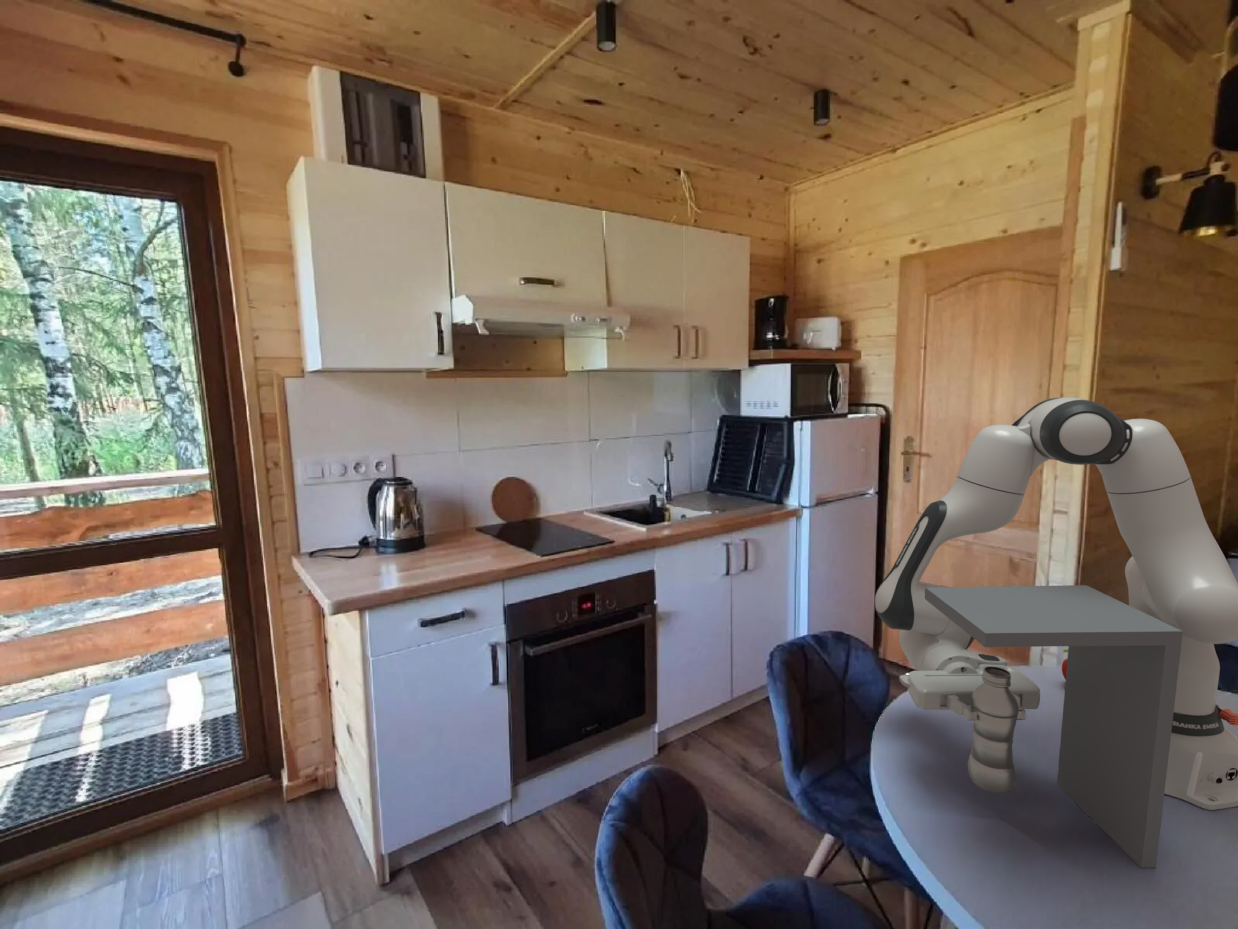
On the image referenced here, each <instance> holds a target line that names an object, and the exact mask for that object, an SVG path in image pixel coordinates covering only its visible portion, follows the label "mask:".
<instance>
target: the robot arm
mask: <svg viewBox="0 0 1238 929" xmlns="http://www.w3.org/2000/svg"><path fill="white" fill-rule="evenodd" d="M1048 460H1052V461H1053V460H1054V461H1059V462H1062V463H1063V464H1064V463H1065V464H1069V465H1079V466H1081V465H1083V466H1084V465H1088V466H1089V465H1095V466H1096V467H1097V470H1098V471H1099V473H1100V474H1101V478H1102V482H1103V485H1104V488H1105V492H1106V495H1107V497H1108V500H1109V504H1110V506H1111V510H1112V512H1113V515H1114V519H1115V522H1116V524H1117V528H1118V531H1119V534H1120V536H1121V537H1122V539H1123V540H1124V542H1125V543H1126V546H1127V548H1128V550H1129V552H1130V554H1131V557H1130V558H1129V559H1128V561H1127V562H1126V565H1125V567H1124V576H1125V579H1126V583H1127V588H1128V589H1127V590H1128V605H1129V606H1131V607H1133V608H1135V609H1137V610H1139V611H1141V612H1143V613H1146V614H1148V615H1150V616H1152V617H1154V618H1156V619H1158V620H1160V621H1162V622H1164V623H1166V624H1169V625H1171V626H1173V627H1175V628H1177V629H1179V630H1181V631H1183V634H1182V643H1181V651H1180V660H1179V669H1178V678H1177V687H1176V695H1175V704H1174V713H1173V722H1172V730H1171V739H1170V748H1169V757H1168V766H1167V774H1166V783H1165V792H1164V795H1168V796H1172V797H1175V798H1178V799H1182V800H1184V801H1186V802H1188V803H1191V804H1193V805H1195V806H1197V807H1199V808H1202V809H1204V810H1208V811H1209V810H1210V811H1215V810H1216V811H1217V810H1222V809H1228V808H1235V807H1238V736H1236V735H1235V734H1234V733H1233V732H1232V731H1230V730H1229V729H1228V728H1227V727H1225V726H1224V722H1223V721H1226V723H1228V724H1230V725H1231V726H1238V713H1236V712H1234V711H1232V710H1231V709H1229V708H1224V709H1222V708H1221V707H1220V705H1217V703H1216V702H1217V697H1218V696H1217V694H1218V689H1219V688H1218V686H1219V679H1220V671H1221V670H1220V669H1221V666H1220V665H1221V664H1220V661H1219V658H1218V654H1217V653H1216V649H1215V645H1223V644H1228V643H1231V642H1235V641H1237V640H1238V581H1237V578H1236V577H1235V575H1234V573H1233V571H1232V569H1231V566H1230V565H1229V563H1228V561H1227V559H1226V557H1225V555H1224V553H1223V551H1222V549H1221V548H1220V546H1219V544H1218V542H1217V541H1216V540H1217V539H1215V537H1214V535H1213V533H1212V531H1211V529H1210V528H1209V525H1208V523H1207V521H1206V518H1205V516H1204V512H1203V509H1202V506H1201V504H1200V501H1199V497H1198V495H1197V491H1196V489H1195V485H1194V482H1193V480H1192V476H1191V473H1190V470H1189V468H1188V465H1187V463H1186V461H1185V459H1184V456H1183V454H1182V452H1181V450H1180V448H1179V446H1178V445H1177V443H1176V441H1175V439H1174V438H1173V436H1172V435H1171V433H1170V432H1169V429H1168V428H1167V427H1166V426H1165V425H1164V424H1162V423H1161V422H1159V421H1157V420H1154V419H1147V418H1131V419H1126V420H1123V418H1121V417H1120V416H1118V415H1117V414H1116V413H1114V412H1113V411H1112V410H1110V409H1109V407H1106V406H1105V405H1103V404H1101V403H1099V402H1096V401H1093V400H1089V399H1086V398H1085V399H1084V398H1079V397H1075V396H1074V397H1073V396H1067V397H1065V396H1064V397H1052V398H1048V399H1045V400H1042V401H1039V402H1038V403H1037V404H1035V405H1033V406H1032V407H1031V408H1029V409H1028V410H1027V411H1026V412H1025V413H1024V414H1023V415H1021V416H1020V417H1019V418H1018V419H1017V420H1015V421H1014V422H1013V423H1012V424H991V425H987V426H985V427H984V428H981V430H979V431H978V433H977V435H976V436H975V437H974V439H973V440H972V441H971V444H970V446H969V447H968V449H967V451H966V454H965V455H964V458H963V460H962V462H961V465H960V467H959V470H958V472H957V475H956V478H955V481H954V482H953V485H952V486H951V487H950V489H949V490H948V491H947V493H945V495H944V496H942V497H941V498H940V499H939V500H936V501H933V502H931V503H929V504H928V505H927V506H926V508H925V509H924V510H923V512H922V514H921V515H920V517H919V519H918V521H917V522H916V524H915V526H914V527H913V529H912V531H911V532H910V535H909V536H908V538H907V540H906V542H905V543H904V545H903V547H902V550H901V551H900V553H899V555H898V557H896V558H897V559H896V560H895V562H894V564H893V565H892V567H891V570H890V571H889V572H888V574H887V575H886V576H885V578H884V579H883V580H882V581H881V583H880V584H879V586H878V588H877V590H876V592H875V595H874V600H873V603H874V604H873V605H874V606H873V607H874V610H875V612H876V613H877V615H878V617H879V618H880V620H881V621H882V622H883V623H884V624H885V625H886V626H887V627H888V628H889V629H891V630H899V633H898V640H899V644H900V647H901V650H902V652H903V653H904V655H905V657H906V658H907V660H908V662H910V664H911V665H912V666H913V667H914V668H915V669H916V670H912V671H910V672H909V671H908V672H905V673H904V674H901V675H899V678H898V679H899V682H900V683H901V685H902V686H904V687H905V688H907V691H908V694H909V696H910V698H911V700H912V702H913V703H914V704H915V706H916V707H917V708H920V709H922V710H926V711H927V710H928V711H929V710H932V711H933V710H934V711H939V710H941V711H942V710H943V711H945V710H948V711H950V712H953V713H955V714H958V715H960V716H962V717H963V718H964V719H965V721H973V720H977V719H978V718H977V716H978V712H977V710H976V709H974V707H973V706H972V705H971V696H972V694H973V691H974V690H975V689H976V688H977V687H978V686H979V685H981V684H982V683H984V682H983V681H982V676H983V670H984V668H985V667H988V666H994V667H1000V668H1003V669H1005V670H1007V671H1009V672H1010V673H1011V680H1010V681H1011V686H1010V687H1009V689H1010V690H1011V692H1012V693H1013V694H1014V696H1015V698H1016V699H1017V702H1018V705H1019V712H1018V716H1017V720H1016V721H1026V719H1027V718H1026V716H1027V712H1026V710H1037V709H1038V708H1039V706H1040V702H1041V689H1040V687H1039V686H1038V685H1037V684H1036V683H1035V682H1034V681H1033V680H1031V679H1030V678H1029V677H1028V676H1026V675H1025V674H1024V673H1022V672H1021V671H1019V670H1018V669H1016V668H1014V667H1012V666H1009V665H1008V662H1007V660H1006V659H1005V658H1003V657H1001V656H997V655H990V654H984V653H978V652H975V651H971V650H968V649H969V648H970V646H971V645H972V644H973V642H974V641H975V639H974V638H973V637H972V636H970V635H969V634H968V633H967V632H965V631H964V630H963V629H962V628H960V627H959V626H958V625H957V624H955V623H954V622H953V621H952V620H950V619H949V618H948V617H947V616H945V615H944V614H943V613H942V612H940V611H939V610H938V609H937V608H935V607H934V606H933V605H932V604H930V603H929V602H928V601H927V600H925V587H948V586H946V585H941V584H934V583H930V582H926V581H921V579H922V577H923V575H924V573H925V571H927V568H928V566H929V564H930V563H931V561H932V559H933V557H934V555H935V553H936V552H937V550H938V549H939V547H941V546H942V545H943V544H945V543H946V542H948V541H951V540H953V539H955V538H960V537H965V536H970V535H978V534H979V535H980V534H985V533H990V532H993V531H994V532H995V531H997V530H999V529H1001V528H1004V527H1006V526H1007V525H1008V524H1010V523H1011V522H1012V521H1013V520H1014V519H1015V517H1016V515H1017V514H1018V512H1019V510H1020V507H1021V506H1022V502H1023V500H1024V497H1025V494H1026V493H1027V488H1028V485H1029V482H1030V478H1031V477H1032V476H1033V474H1034V472H1035V471H1036V470H1037V469H1038V467H1039V466H1041V465H1042V464H1043V463H1045V462H1047V461H1048Z"/></svg>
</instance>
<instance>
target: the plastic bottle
mask: <svg viewBox="0 0 1238 929" xmlns="http://www.w3.org/2000/svg"><path fill="white" fill-rule="evenodd" d="M1010 680H1011V673H1010V672H1009V671H1007V670H1005V669H1003V668H1000V667H994V666H988V667H985V668H984V670H983V676H982V681H983V682H984V683H982V684H981V685H979V686H978V687H977V688H976V689H975V690H974V691H973V694H972V696H971V705H972V706H973V707H974V709H976V710H977V712H978V716H977V718H978V719H977V720H972V722H973V723H972V724H973V725H972V727H973V730H972V732H973V737H972V744H971V750H970V751H971V752H970V753H969V755H968V756H969V757H968V761H967V771H968V775H969V778H970V780H971V781H972V782H973V784H974V785H976V786H977V787H979V788H980V789H982V790H983V791H986V792H990V793H993V794H1005V793H1008V792H1010V791H1011V790H1012V789H1014V785H1015V782H1016V778H1017V777H1016V770H1015V764H1014V752H1013V748H1014V747H1013V743H1014V735H1015V729H1016V728H1015V727H1016V723H1017V721H1018V720H1017V716H1018V712H1019V705H1018V702H1017V699H1016V698H1015V696H1014V694H1013V693H1012V692H1011V690H1010V689H1009V687H1010V686H1011V681H1010Z"/></svg>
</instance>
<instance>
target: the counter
mask: <svg viewBox="0 0 1238 929" xmlns="http://www.w3.org/2000/svg"><path fill="white" fill-rule="evenodd" d="M925 600H927V601H928V602H929V603H930V604H932V605H933V606H934V607H935V608H937V609H938V610H939V611H940V612H942V613H943V614H944V615H945V616H947V617H948V618H949V619H950V620H952V621H953V622H954V623H955V624H957V625H958V626H959V627H960V628H962V629H963V630H964V631H965V632H967V633H968V634H969V635H970V636H972V637H973V638H974V641H976V642H978V643H979V644H980V645H982V646H983V647H984V648H998V647H999V648H1001V647H1002V648H1005V647H1006V648H1007V647H1008V648H1011V647H1012V648H1013V647H1016V648H1017V647H1019V648H1021V647H1022V648H1023V647H1026V648H1027V647H1028V648H1031V647H1067V649H1068V652H1067V659H1068V660H1067V671H1066V680H1065V682H1064V683H1065V686H1064V696H1063V698H1064V699H1063V706H1062V707H1063V710H1062V718H1061V719H1062V720H1061V733H1060V741H1059V742H1060V745H1059V753H1058V754H1059V756H1058V765H1057V766H1058V767H1057V768H1058V769H1057V779H1056V780H1057V781H1056V785H1058V787H1059V788H1060V789H1061V790H1062V791H1063V792H1064V793H1065V794H1066V795H1067V796H1068V797H1069V798H1070V799H1071V800H1072V801H1073V802H1074V803H1076V805H1078V806H1079V808H1081V810H1082V811H1083V812H1084V813H1085V814H1087V815H1088V817H1089V818H1090V819H1091V820H1092V821H1094V823H1096V824H1097V826H1098V827H1100V829H1101V830H1102V831H1103V832H1104V833H1106V834H1107V835H1108V836H1109V838H1111V840H1113V841H1114V842H1115V843H1116V845H1118V847H1120V848H1121V849H1122V850H1123V851H1124V852H1125V853H1126V854H1127V856H1129V857H1130V858H1131V859H1132V860H1133V861H1134V863H1136V864H1137V865H1138V866H1139V867H1140V868H1141V869H1156V868H1157V862H1158V861H1157V860H1158V854H1159V853H1158V852H1159V842H1160V836H1161V825H1162V819H1163V818H1162V817H1163V816H1162V815H1163V809H1164V802H1165V801H1164V800H1165V794H1164V792H1165V783H1166V774H1167V766H1168V757H1169V748H1170V739H1171V730H1172V722H1173V713H1174V704H1175V695H1176V687H1177V678H1178V669H1179V660H1180V651H1181V643H1182V634H1183V631H1181V630H1179V629H1177V628H1175V627H1173V626H1171V625H1169V624H1166V623H1164V622H1162V621H1160V620H1158V619H1156V618H1154V617H1152V616H1150V615H1148V614H1146V613H1143V612H1141V611H1139V610H1137V609H1135V608H1133V607H1131V606H1129V604H1126V603H1124V602H1123V601H1120V600H1118V599H1115V598H1114V597H1112V596H1110V595H1108V594H1105V593H1103V592H1102V591H1099V590H1097V589H1095V588H1093V587H1091V586H1089V585H1087V584H1081V585H1079V584H1078V585H1075V584H1074V585H1014V586H1013V585H1009V586H1007V585H1005V586H1001V585H1000V586H999V585H997V586H995V585H994V586H947V587H925Z"/></svg>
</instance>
